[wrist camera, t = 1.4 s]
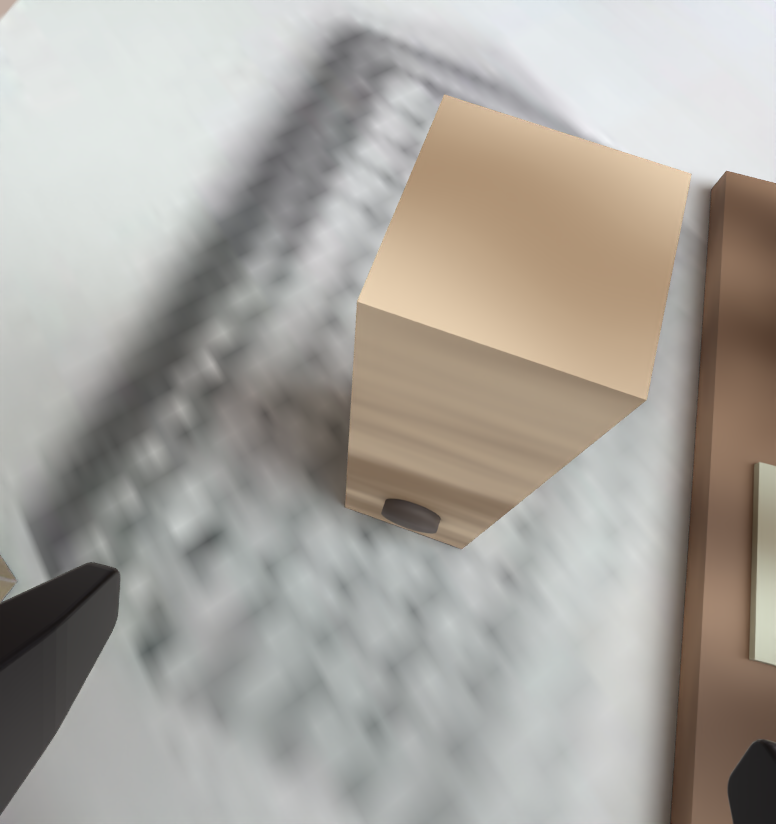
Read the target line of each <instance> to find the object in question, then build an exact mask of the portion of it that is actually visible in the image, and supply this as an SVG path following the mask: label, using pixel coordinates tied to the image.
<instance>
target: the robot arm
mask: <svg viewBox="0 0 776 824" xmlns="http://www.w3.org/2000/svg"><path fill="white" fill-rule="evenodd" d="M119 592H120V573H119V571H118V570H117V569H116V568H114V567H110V566H106V565H102V564H98V563H94V562H90V563H86V564H83V565H81V566H79V567H77V568H75V569H73V570H70V571H68V572H66V573H64V574H62V575H60V576H57V577H55V578H53V579H51V580H49V581H47V582H45V583H42V584H40V585H38V586H36V587H34V588H32V589H29V590H27V591H25V592H23V593H21V594H19V595H16V596H14V597H12V598H10V599H8V600H6V601H4V602H1V603H0V815H1V814H2V812H3V811H4V809H5V808H6V806H7V805H8V803H9V802H10V801H11V799H12V798H13V796H14V795H15V793H16V792H17V790H18V789H19V787H20V786H21V785H22V783H23V782H24V780H25V779H26V777H27V776H28V774H29V773H30V771H31V770H32V769H33V767H34V766H35V764H36V763H37V761H38V760H39V758H40V757H41V755H42V754H43V753H44V751H45V750H46V748H47V746H48V745H49V743H50V742H51V740H52V739H53V737H54V736H55V734H56V732H57V731H58V729H59V727H60V725H61V724H62V722H63V720H64V719H65V717H66V715H67V713H68V711H69V709H70V708H71V706H72V704H73V702H74V700H75V699H76V697H77V695H78V693H79V691H80V689H81V688H82V686H83V684H84V682H85V680H86V678H87V677H88V675H89V673H90V671H91V669H92V668H93V666H94V664H95V662H96V660H97V658H98V657H99V655H100V653H101V651H102V649H103V647H104V646H105V644H106V642H107V640H108V638H109V636H110V635H111V633H112V631H113V629H114V626H115V624H116V621H117V617H118V608H119ZM727 793H728V800H729V805H730V811H731V816H732V821H733V824H776V742H773V741H770V740H766V739H758V740H756V741H754V742H753V743H752V744H751V745H750V746H749V748H748V749H747V751H746V752H745V754H744V755H743V757H742V758H741V760H740V761H739V763H738V764H737V765H736V767H735V768H734V770H733V771H732V773H731V775H730V777H729V780H728V786H727Z"/></svg>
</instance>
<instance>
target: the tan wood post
mask: <svg viewBox="0 0 776 824" xmlns="http://www.w3.org/2000/svg"><path fill="white" fill-rule="evenodd" d="M690 179H691V174H690V173H687V172H684V171H681V170H678V169H675V168H671V167H668V166H665V165H662V164H659V163H656V162H653V161H650V160H647V159H643V158H640V157H637V156H634V155H631V154H628V153H625V152H622V151H619V150H615V149H612V148H609V147H606V146H603V145H600V144H597V143H594V142H591V141H587V140H584V139H581V138H578V137H575V136H572V135H569V134H566V133H563V132H559V131H556V130H553V129H550V128H547V127H544V126H541V125H538V124H535V123H531V122H528V121H525V120H522V119H519V118H516V117H513V116H510V115H507V114H503V113H500V112H497V111H494V110H491V109H488V108H485V107H482V106H479V105H475V104H472V103H469V102H466V101H463V100H460V99H457V98H454V97H451V96H447V95H444V97H443V99H442V101H441V104H440V106H439V108H438V111H437V113H436V115H435V118H434V120H433V123H432V125H431V127H430V130H429V132H428V134H427V137H426V139H425V142H424V144H423V146H422V149H421V151H420V153H419V156H418V158H417V160H416V163H415V165H414V168H413V170H412V172H411V175H410V177H409V179H408V182H407V184H406V187H405V189H404V191H403V194H402V196H401V198H400V201H399V203H398V205H397V208H396V210H395V213H394V215H393V217H392V220H391V222H390V224H389V227H388V229H387V232H386V234H385V236H384V239H383V241H382V243H381V246H380V248H379V250H378V253H377V255H376V258H375V260H374V262H373V265H372V267H371V269H370V272H369V274H368V277H367V279H366V281H365V284H364V286H363V288H362V291H361V293H360V296H359V298H358V300H357V310H356V327H355V344H354V360H353V377H352V394H351V411H350V428H349V445H348V462H347V479H346V496H345V507H346V508H348V509H351V510H354V511H357V512H360V513H362V514H365V515H368V516H371V517H374V518H376V519H379V520H382V521H385V522H388V523H390V524H393V525H396V526H399V527H401V528H404V529H407V530H410V531H413V532H415V533H418V534H421V535H424V536H427V537H429V538H432V539H435V540H438V541H441V542H443V543H446V544H449V545H452V546H455V547H457V548H460V549H463V548H464V547H465V546H467V545H468V544H469V543H470V542H472V541H473V540H474V539H475V538H476V537H478V536H479V535H480V534H481V533H483V532H484V531H485V530H486V529H488V528H489V527H490V526H491V525H493V524H494V523H495V522H496V521H498V520H499V519H500V518H501V517H502V516H504V515H505V514H506V513H507V512H509V511H510V510H511V509H512V508H514V507H515V506H516V505H517V504H519V503H520V502H521V501H522V500H524V499H525V498H526V497H527V496H528V495H530V494H531V493H532V492H533V491H535V490H536V489H537V488H538V487H540V486H541V485H542V484H543V483H545V482H546V481H547V480H548V479H550V478H551V477H552V476H553V475H555V474H556V473H557V472H558V471H559V470H561V469H562V468H563V467H564V466H566V465H567V464H568V463H569V462H571V461H572V460H573V459H574V458H576V457H577V456H578V455H579V454H581V453H582V452H583V451H584V450H585V449H587V448H588V447H589V446H590V445H592V444H593V443H594V442H595V441H597V440H598V439H599V438H600V437H602V436H603V435H604V434H605V433H607V432H608V431H609V430H610V429H611V428H613V427H614V426H615V425H616V424H618V423H619V422H620V421H621V420H623V419H624V418H625V417H626V416H628V415H629V414H630V413H631V412H633V411H634V410H635V409H636V408H637V407H639V406H640V405H641V404H642V403H644V402H645V401H646V400H647V396H648V391H649V386H650V381H651V376H652V370H653V365H654V360H655V355H656V350H657V345H658V340H659V335H660V330H661V325H662V320H663V315H664V310H665V305H666V300H667V295H668V290H669V285H670V280H671V275H672V270H673V265H674V260H675V255H676V250H677V245H678V240H679V235H680V230H681V224H682V219H683V214H684V209H685V204H686V199H687V194H688V189H689V184H690Z"/></svg>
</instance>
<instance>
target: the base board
mask: <svg viewBox="0 0 776 824" xmlns="http://www.w3.org/2000/svg"><path fill="white" fill-rule="evenodd" d="M758 739H766V740H770V741H773V742H776V183H773V182H769V181H765V180H761V179H757V178H753V177H749V176H745V175H741V174H737V173H733V172H729V171H726V172H725V173H724V174H723V176H722V177H721V178H720V179H719V181H718V182H717V183H716V184H715V186H714V187H713V188H712V189H711V202H710V217H709V233H708V248H707V264H706V279H705V295H704V310H703V326H702V341H701V357H700V372H699V388H698V403H697V419H696V434H695V450H694V465H693V481H692V496H691V512H690V527H689V543H688V558H687V574H686V589H685V605H684V620H683V636H682V651H681V667H680V682H679V698H678V713H677V729H676V744H675V760H674V775H673V791H672V806H671V822H670V824H733V821H732V816H731V811H730V805H729V800H728V793H727V786H728V780H729V777H730V775H731V773H732V771H733V770H734V768H735V767H736V765H737V764H738V763H739V761H740V760H741V758H742V757H743V755H744V754H745V752H746V751H747V749H748V748H749V746H750V745H751V744H752V743H753V742H754V741H756V740H758Z"/></svg>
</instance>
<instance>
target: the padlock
mask: <svg viewBox="0 0 776 824" xmlns="http://www.w3.org/2000/svg"><path fill="white" fill-rule="evenodd" d="M16 583H17V580H16V579H15V577H14V576H13V574H12V572H11V571H10V569H9V568H8V566H7V565H6V563H5V562H4V560H3V558H2V557H1V555H0V603H1V601H2V600H3V599H4V598H5V596H6V595H7V594H8V593H9V591H10V590H11V589H12V588H13V587H14V585H15V584H16Z"/></svg>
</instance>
